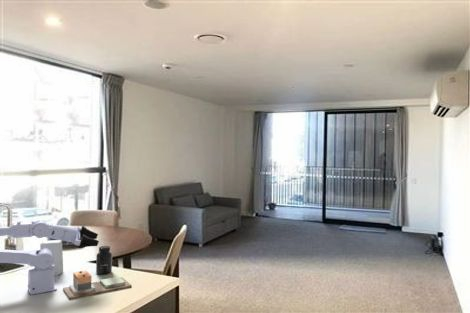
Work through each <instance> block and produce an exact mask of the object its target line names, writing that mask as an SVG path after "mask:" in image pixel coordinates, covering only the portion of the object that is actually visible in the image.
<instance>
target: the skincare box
mask: <svg viewBox="0 0 470 313" xmlns="http://www.w3.org/2000/svg"><path fill="white" fill-rule="evenodd" d="M39 246H40V247H39V248H40V249H39V250H41V249H44V248H48V249H50V250H51V251H52V252H53V264H54V276H55V275H61V274H62V273H63V272H64V258H63V253H64V252H63V241H62V240H56V239H50V240H43V241H42V242H41V243H40V245H39Z"/></svg>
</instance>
